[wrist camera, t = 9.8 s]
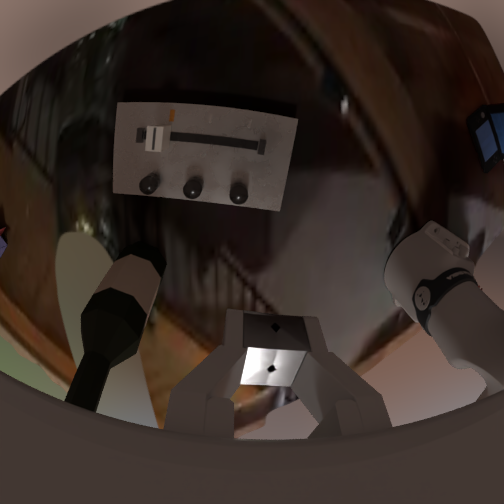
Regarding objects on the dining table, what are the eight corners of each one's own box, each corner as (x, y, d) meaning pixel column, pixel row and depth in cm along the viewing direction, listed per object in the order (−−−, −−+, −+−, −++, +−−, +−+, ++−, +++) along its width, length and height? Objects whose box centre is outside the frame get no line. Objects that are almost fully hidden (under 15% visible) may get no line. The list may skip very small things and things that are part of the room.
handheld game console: (463, 119, 33) (491, 125, 26) (488, 97, 30) (515, 101, 23) (482, 174, 38) (507, 186, 31) (505, 149, 35) (529, 159, 28)
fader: (171, 125, 31) (163, 126, 28) (169, 147, 33) (160, 152, 29) (156, 124, 31) (147, 126, 27) (154, 146, 32) (144, 151, 29)
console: (294, 118, 34) (301, 119, 30) (277, 206, 40) (281, 216, 36) (123, 102, 31) (111, 102, 27) (118, 189, 37) (107, 197, 33)
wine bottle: (116, 241, 41) (19, 394, 15) (163, 241, 41) (91, 418, 15) (125, 284, 45) (60, 436, 18) (170, 285, 45) (126, 454, 19)
